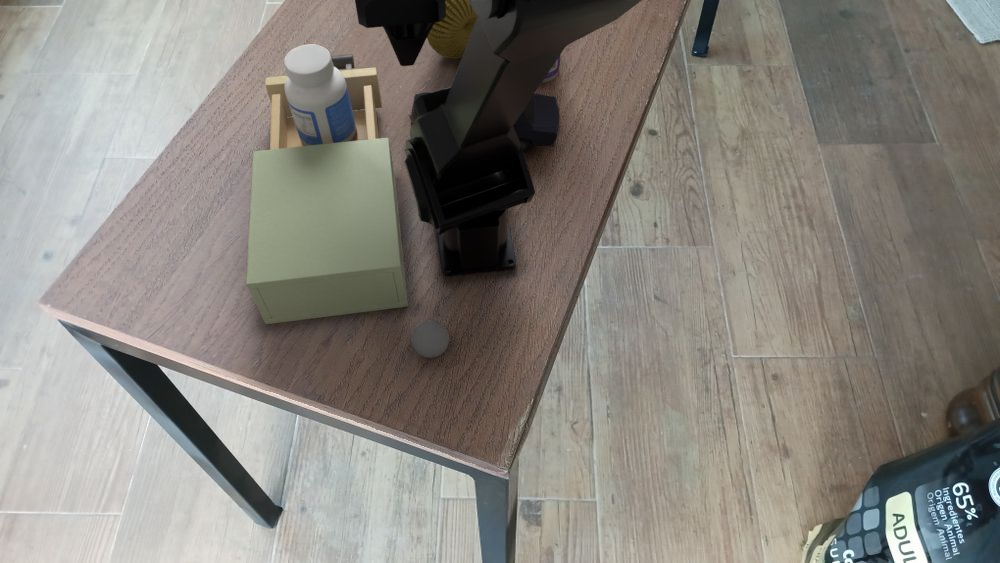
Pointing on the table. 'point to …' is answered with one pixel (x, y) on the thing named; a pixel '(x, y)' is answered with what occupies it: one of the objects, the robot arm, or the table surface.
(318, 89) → the pill bottle
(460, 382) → the table surface
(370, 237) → the cabinet
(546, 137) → the toy car
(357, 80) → the drawer
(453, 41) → the sculpture
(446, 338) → the rubber ball
